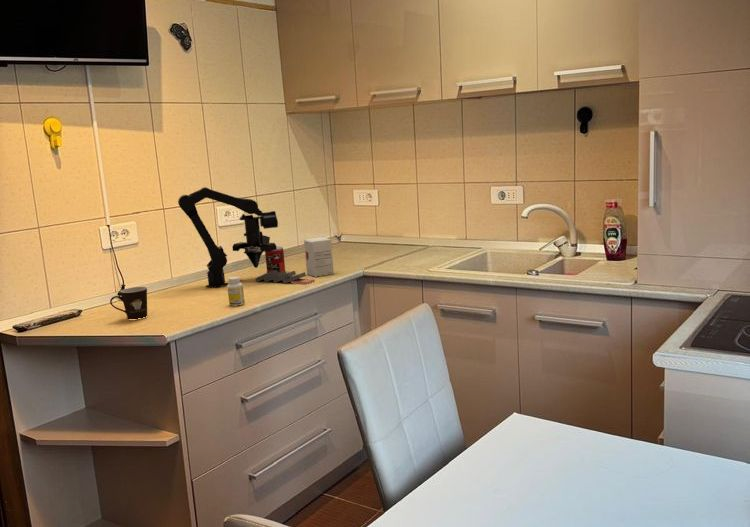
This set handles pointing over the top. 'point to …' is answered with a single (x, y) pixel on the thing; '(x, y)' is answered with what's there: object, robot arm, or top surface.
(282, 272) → the domino
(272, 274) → the domino
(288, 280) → the domino
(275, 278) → the domino
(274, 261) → the canned food
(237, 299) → the supplement bottle
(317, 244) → the supplement box
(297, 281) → the domino
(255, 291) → the top surface
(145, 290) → the coffee mug
